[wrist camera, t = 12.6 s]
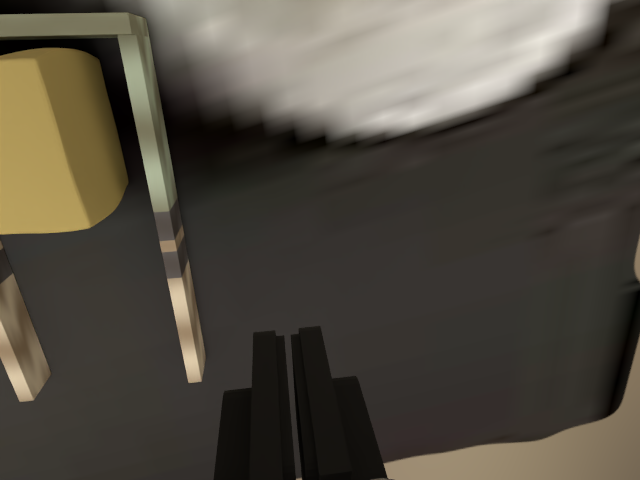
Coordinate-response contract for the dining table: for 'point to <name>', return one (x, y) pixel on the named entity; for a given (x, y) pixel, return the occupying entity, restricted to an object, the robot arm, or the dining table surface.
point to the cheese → (56, 143)
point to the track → (132, 32)
